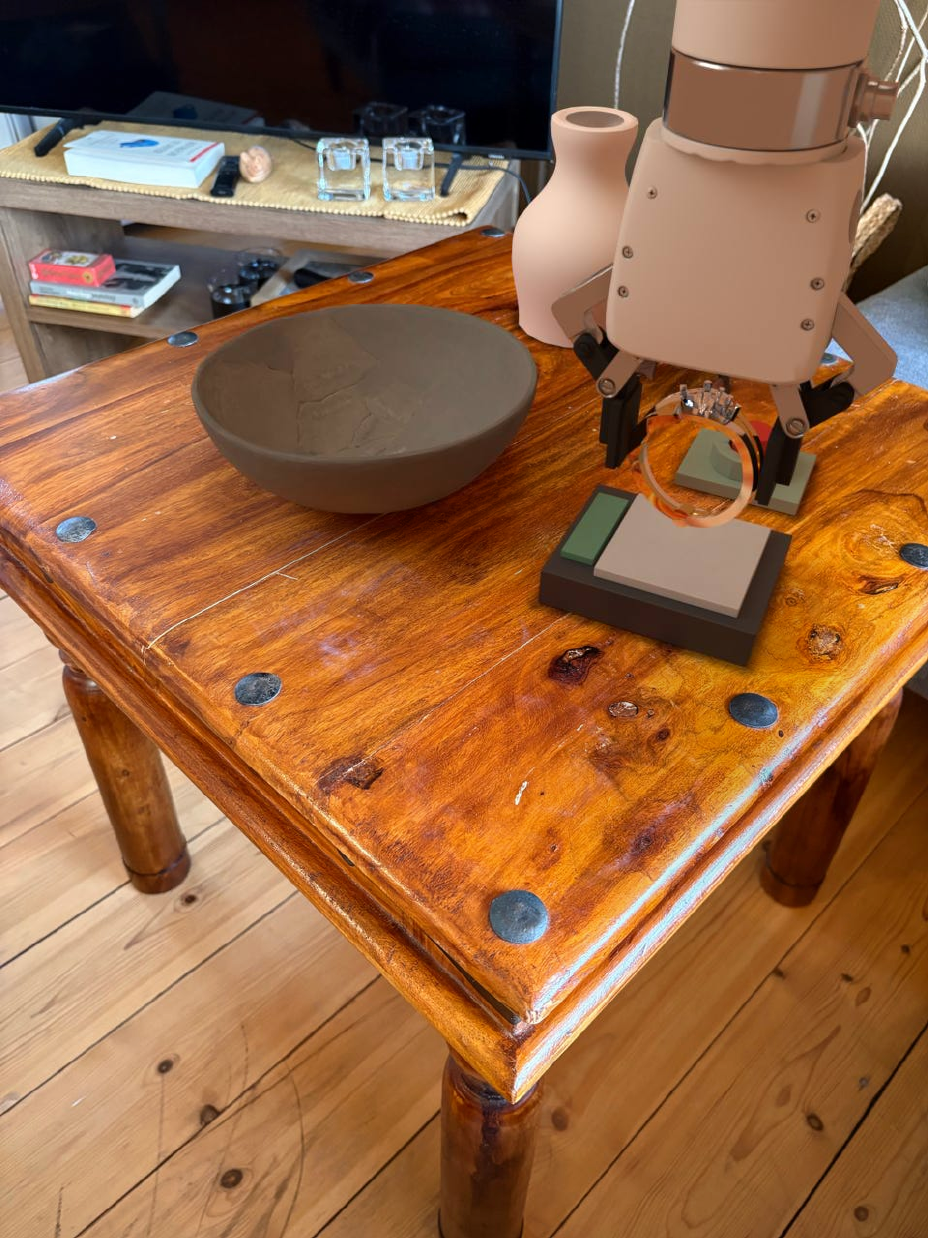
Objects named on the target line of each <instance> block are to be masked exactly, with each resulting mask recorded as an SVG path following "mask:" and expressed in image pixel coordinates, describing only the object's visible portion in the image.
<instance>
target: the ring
mask: <svg viewBox="0 0 928 1238" xmlns="http://www.w3.org/2000/svg"><path fill="white" fill-rule="evenodd" d="M712 383H713V381H711V380H709V379H707V380H704V381H703V384H702V387H696V388H690V389H688V385H687V384H679V391H677V392H675V393H672V394H669V395H667V396H666V397H663V398H662V399H661V400H660V401H658V402H657V403H655V405H654V406H653V407H651V408H650V409H649V410H648V412H647V413H646V414H645V415H644V416H643V418H642V419H641V421H639V422H638V424H637V425H636V427H635V428H634V429H633V431H632V433H631V435H630V438H629V442H628V455H627V459H628V464H629V467H630V471H631V475H632V477H633V480H634V481H635V483H636V485H637V487H638V489H639V490H640V493H641V494H643V495H644V496H645V497H646V498H647V500H648V501H649V502H650V503H651V504H652V505H653V506H654V507H655V508H656V509H658V510H659V511H660V512H661V513H663V514H664V515H666V516H667V517H669V518H671V519H673V523H674V524H675V525H677V526H679V527H682V528H685V527H686V526H687V525H688V526H692V527H698V528H709V527H715V526H719V525H722V524H724V523H726V522H728V521H730V520H731V519H733V518H735V517H737V516H739V514H740V513H742V512H743V511H744V510H745V509H746V508H747V507H748V506H749V505H750V504H749V503H750V502H751V501H752V500H753V498H754V497H755V494H756V490H757V485H758V481H759V477H760V473H761V468H762V464H763V460H764V453H763V448H762V445H761V442H760V439H759V437H758V435H757V433H756V431H755V430H754V428H753V427H752V425H751V424H750V423H749V421H750V420H748V419H747V418H746V417H745V416H744V414H742V413H741V412H740V411H741V410H742V407H743V406H742V405H741V404H740V403H738V402H736V403H735V404H734V402H733V399H734V396H733V395H732V394H729V395H727V394H726V393H724V391H725V388H723V387H720V388H719V390H717V389H713V388H711V387H712ZM682 420H687V421H692V422H696V423H700V424H703V425H706V426H708V427H711V428H713V429H715V430H716V431H718V432H719V431H720V432H722V433H724V434H725V435H726V436H727V437H729V438H730V439H731V441H732V442H733V443H734V445H735V446H736V448H737V450H738V452H739V455H740V458H741V462H742V468H743V483H742V488H741V491H740V494H739V496H738V497H737V499H736V500H733V502H732V503H730V504H728V505H727V506H725V507H723V508H719V509H716V510H705V511H699V510H696V508H697V507H696V506H695V505H693V503H689V502H682V503H679V502H677V501H676V500H675V499H673V498H672V497H670V496H669V494H667V493H666V492H665V491H664V490H663V489H662V487H661V486H660V484H659V483H658V481H657V480H656V479H655V476H654V475H653V472H652V470H651V467H650V464H649V460H648V453H647V451H648V450H647V449H648V443H649V438H650V435H651V433H652V432H653V431H655V430H657V429H660V428H663V427H667V426H671V425H679V424H681V422H682Z"/></svg>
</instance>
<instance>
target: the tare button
mask: <svg viewBox="0 0 928 1238" xmlns="http://www.w3.org/2000/svg"><path fill="white" fill-rule="evenodd" d="M748 421H749V423H750V424H751V425H752V427H753V428H754V430H755V431H756V433H757V435H758V437H759V439H760V442H761V445H762V448H763V453H764V455H765V451H766V447H767V442H768V438H769V435H770V433H771V431H772V428H773V426H771V425H769V424H767V423H766V422H762V421H758V420H748ZM732 450H734V451H736V452H737V453H739V452H738V450H737V448H736V446H735V445H734V443H733V442H732Z"/></svg>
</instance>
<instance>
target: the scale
mask: <svg viewBox="0 0 928 1238" xmlns="http://www.w3.org/2000/svg"><path fill="white" fill-rule="evenodd" d="M695 508H696V510H699V511H706V510H705V509H701V508H697V507H695ZM792 540H793V535H792V534H789V533H787V532H786V533H785V532H782V531H777V530H774V529H772V528H771V527H768V526H764V525H761V524H757V523H753V522H749V521H745V520H742V519H739V518H735V517H734V518H733V519H731V520H730V521H728V522H726V523H724V524H722V525H719V526H715V527H709V528H698V527H692V526H688V525H687V526H686V527H685V528H682V527H679V526H677V525H675V524H674V523H673V519H671V518H669V517H667V516H666V515H664V514H663V513H661V512H660V511H659V510H658V509H656V508H655V507H654V506H653V505H652V504H651V503H650V502H649V501H648V500H647V498H646V497H645V496H644V495H643V493H642V492H639V493H636V492H632V491H628V490H624V489H621V488H617V487H613V486H609V485H606V484H603V483H597V485H596V486H595V487H594V489H593V491H592V492H591V494H590V495H589V497H588V498H587V500H586V501H585V502H584V504H583V506H582V507H581V509H580V510H579V512H578V513H577V515H576V516H575V518H574V519H573V521H572V522H571V524H570V525H569V526H568V528H567V530H566V531H565V533H564V534H563V536H562V537H561V539H560V541H559V542H558V543H557V545H556V547H555V548H554V550H553V551H552V553H551V554H550V555H549V557H548V559H547V560H546V562H545V563H544V564H543V566H542V568H541V569H540V574H539V575H540V576H539V586H538V599H537V603H539V604H542V605H545V606H548V607H551V608H554V609H557V610H561V611H564V612H568V613H571V614H574V615H578V616H580V617H584V618H587V619H589V620H593V621H595V622H598V623H602V624H605V625H609V626H612V627H615V628H619V629H621V630H625V631H628V632H631V633H634V634H638V635H641V636H644V637H648V638H651V639H654V640H657V641H660V642H663V643H666V644H670V645H673V646H676V647H680V648H682V649H686V650H688V651H689V650H690V651H692V652H694V653H698V654H702V655H705V656H709V657H711V658H715V659H718V660H721V661H724V662H728V663H731V664H734V665H738V666H739V667H740V666H741V667H744V668H747V667H748V665H749V662H750V660H751V656H752V654H753V651H754V648H755V646H756V643H757V640H758V637H759V634H760V632H761V629H762V626H763V624H764V621H765V619H766V615H767V613H768V610H769V608H770V605H771V602H772V600H773V598H774V597H773V596H774V594H775V592H776V588H777V586H778V583H779V580H780V577H781V575H782V572H783V570H784V567H785V563H786V560H787V557H788V553H789V550H790V546H791V543H792Z"/></svg>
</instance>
